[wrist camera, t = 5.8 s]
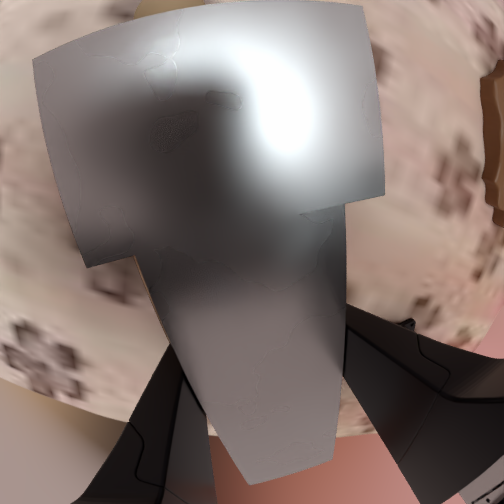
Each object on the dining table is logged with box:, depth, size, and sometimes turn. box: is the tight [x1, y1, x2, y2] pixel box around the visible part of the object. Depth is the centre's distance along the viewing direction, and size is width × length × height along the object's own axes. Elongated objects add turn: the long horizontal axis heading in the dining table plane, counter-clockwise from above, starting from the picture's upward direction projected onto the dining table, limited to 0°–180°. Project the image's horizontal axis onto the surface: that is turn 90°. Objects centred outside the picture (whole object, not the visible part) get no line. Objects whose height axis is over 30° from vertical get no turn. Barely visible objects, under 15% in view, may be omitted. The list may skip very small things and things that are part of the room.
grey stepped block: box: [32, 0, 385, 485], centre depth 8 cm, size 16×6×3 cm, turn 9°
